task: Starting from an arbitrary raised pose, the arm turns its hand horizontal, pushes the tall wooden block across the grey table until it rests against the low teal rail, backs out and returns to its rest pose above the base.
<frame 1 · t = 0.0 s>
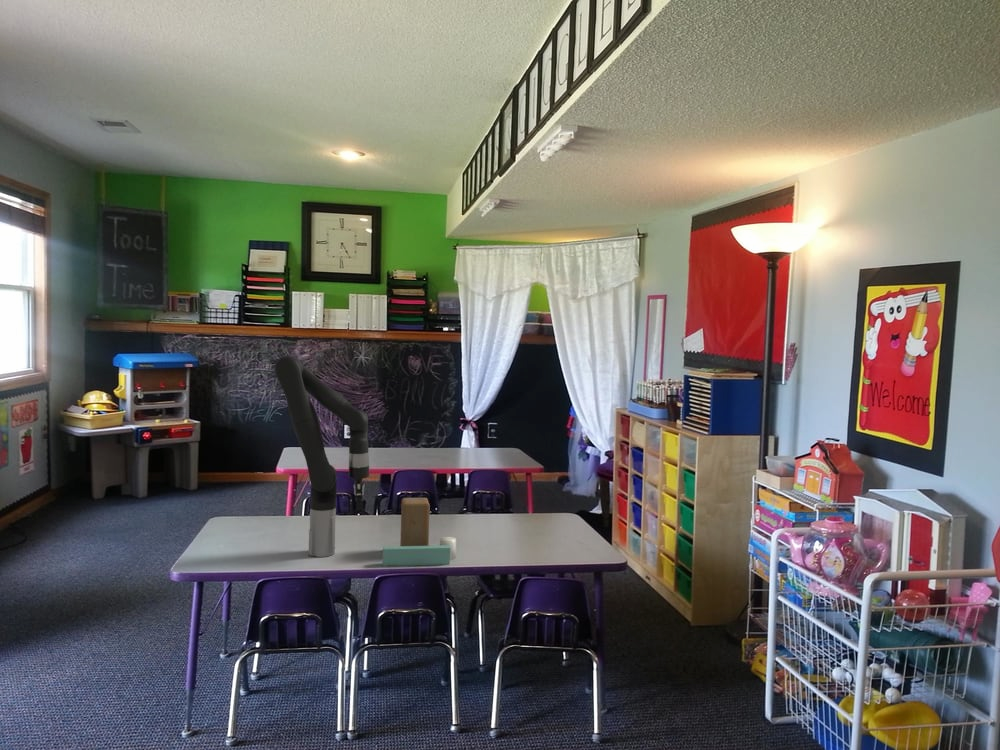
hand: (359, 507, 260), 17 cm above the table, tool pointing down, fingers open, 8 cm apart
cream rounded cylinder: (447, 557, 259), on the table
wooden block: (414, 552, 264), on the table
teal rail: (416, 563, 251), on the table
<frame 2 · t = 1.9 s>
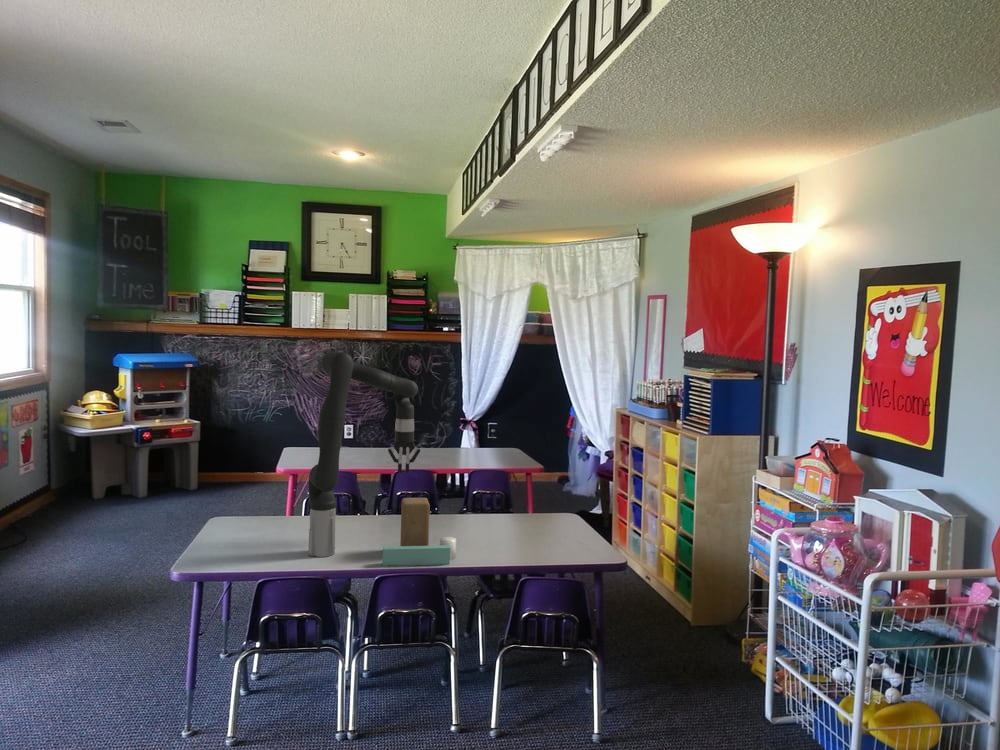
hand: (403, 472, 278), 27 cm above the table, tool pointing down, fingers closed
nothing on the table moved.
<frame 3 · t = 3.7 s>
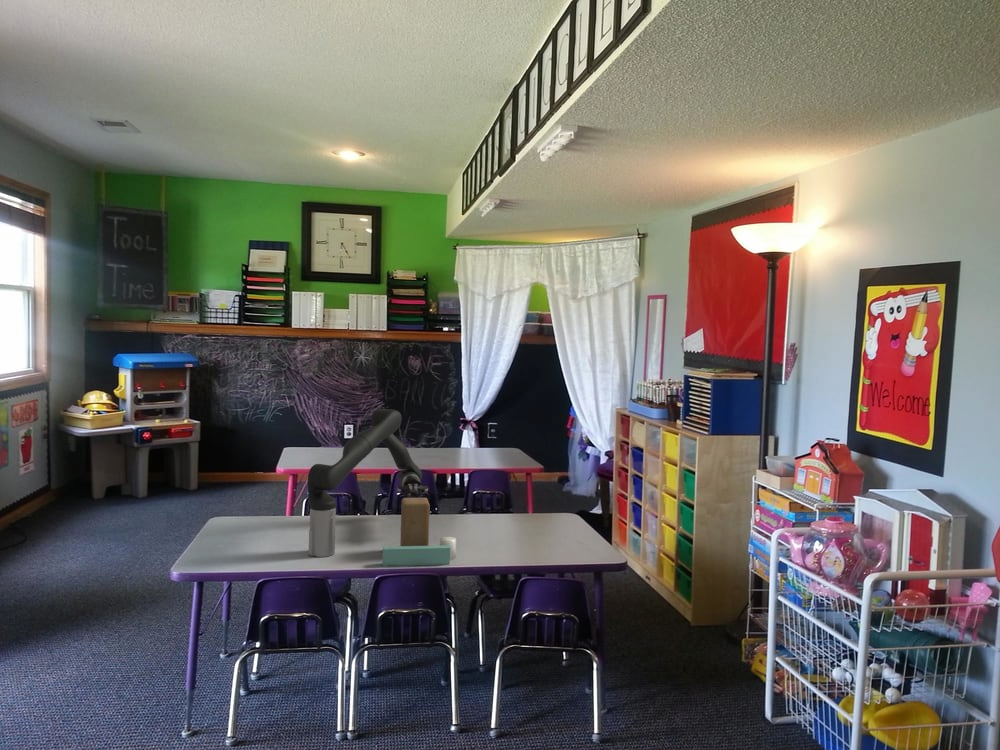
hand: (414, 494, 274), 20 cm above the table, tool horizontal, fingers closed
nothing on the table moved.
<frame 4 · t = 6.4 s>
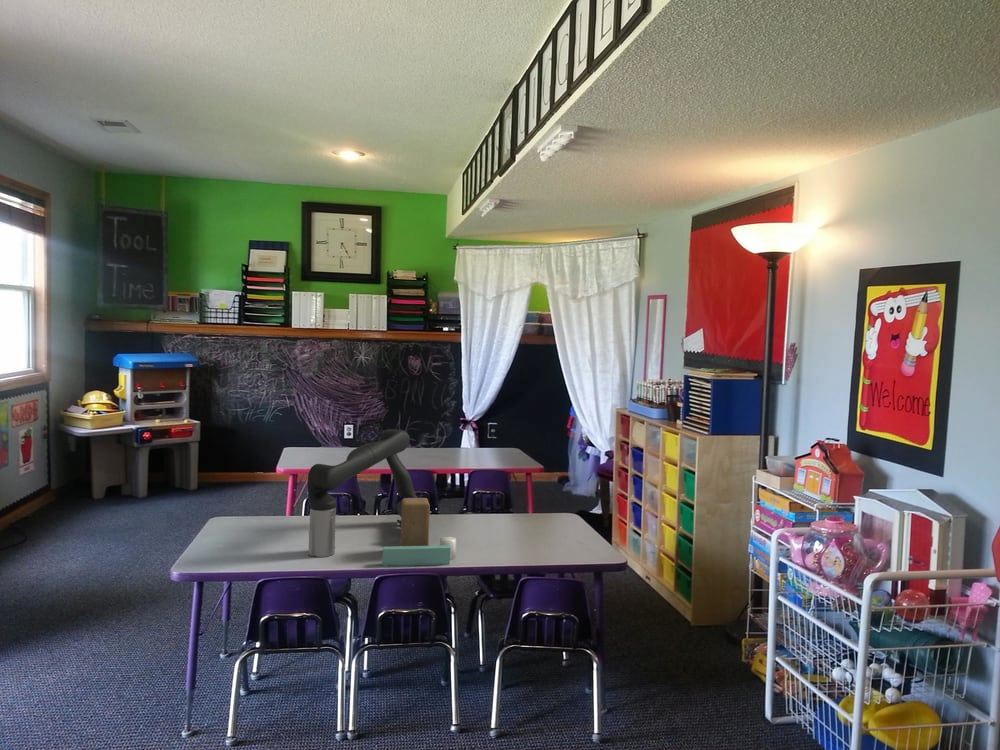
hand: (413, 529, 268), 8 cm above the table, tool horizontal, fingers closed
wooden block: (414, 553, 263), on the table, touching gripper
everything else where it was.
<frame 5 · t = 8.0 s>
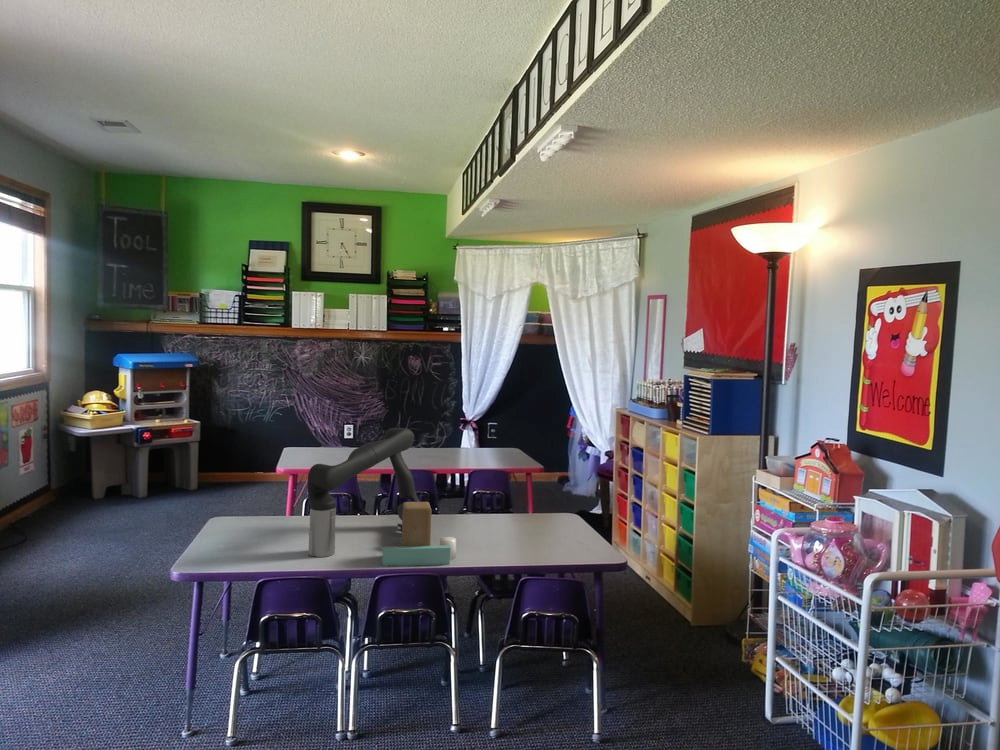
hand: (415, 533, 262), 8 cm above the table, tool horizontal, fingers closed
wooden block: (415, 558, 258), on the table, touching gripper
everything else where it was.
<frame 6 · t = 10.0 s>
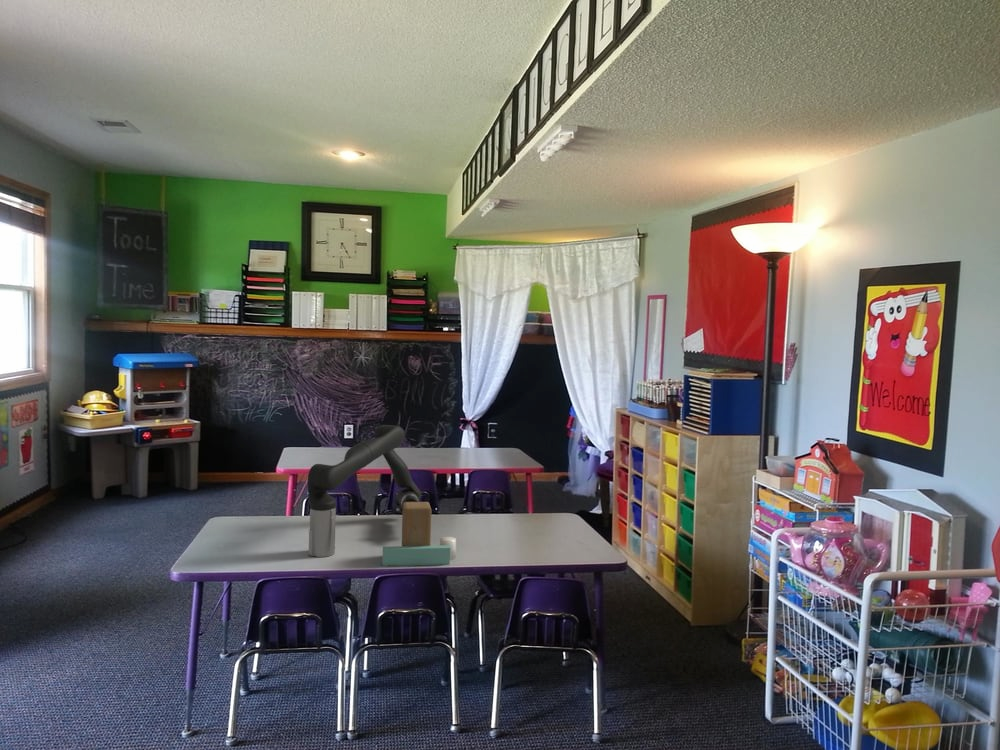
hand: (412, 514, 274), 12 cm above the table, tool horizontal, fingers closed
wooden block: (415, 558, 258), on the table
everything else where it was.
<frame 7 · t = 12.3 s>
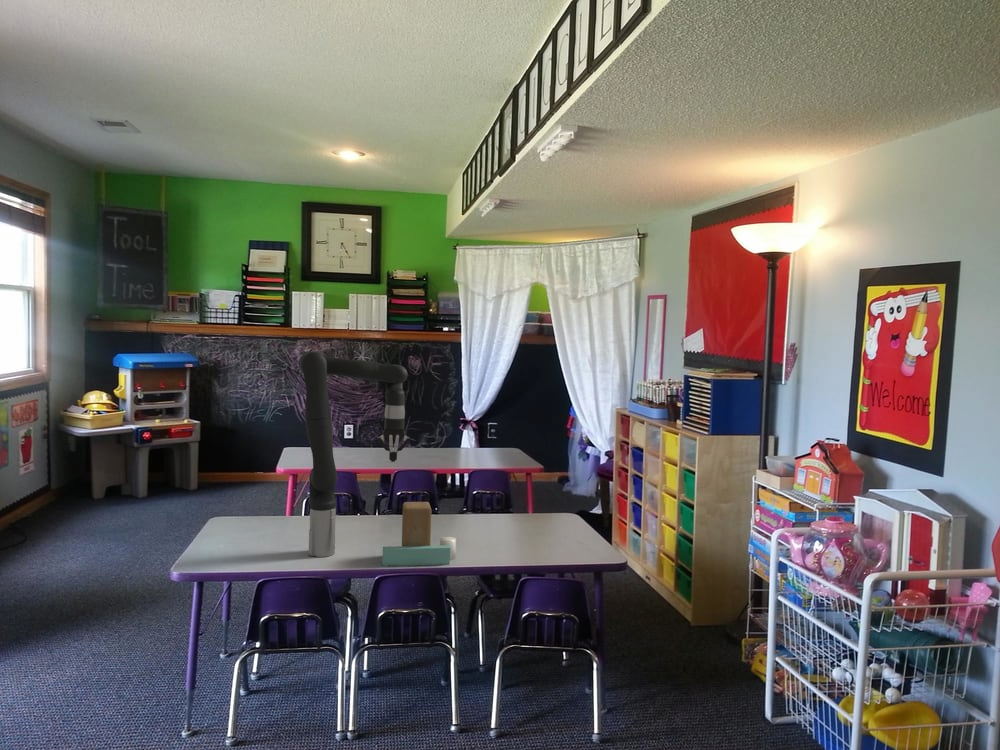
hand: (393, 461, 267), 33 cm above the table, tool pointing down, fingers closed
nothing on the table moved.
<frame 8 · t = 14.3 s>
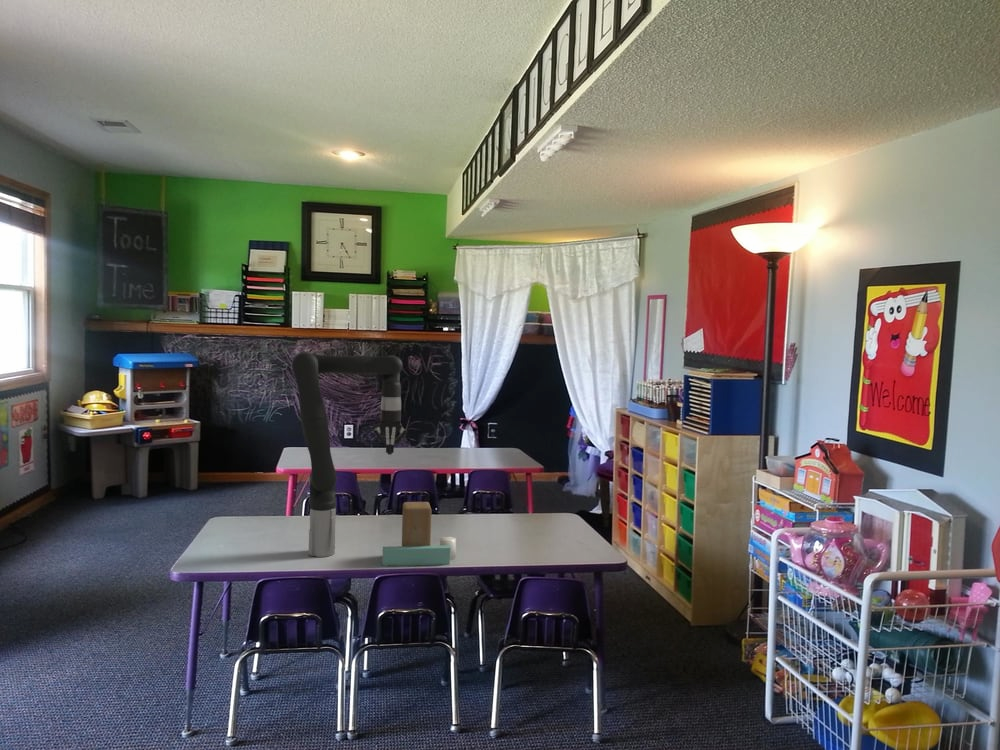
hand: (389, 454, 263), 37 cm above the table, tool pointing down, fingers closed
nothing on the table moved.
at the end: wooden block inside the target area (0.1 cm from its centre), on the table; wooden block tilted 0°; wooden block moved 6.5 cm from its start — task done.
